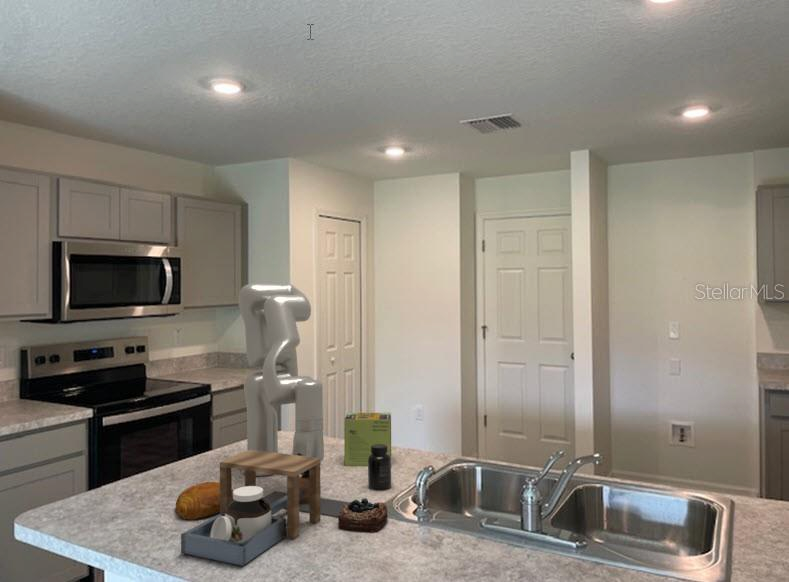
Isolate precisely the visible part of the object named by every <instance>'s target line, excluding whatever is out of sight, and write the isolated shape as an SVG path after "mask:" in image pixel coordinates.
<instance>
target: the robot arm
mask: <svg viewBox="0 0 789 582" xmlns="http://www.w3.org/2000/svg"><path fill="white" fill-rule="evenodd" d="M238 296H239V297H238V307H239V311H240V314H241V317H242V321H243V324H244V330H245V332H244V333H245V347H246V350H245V351H246V357H247V362H248V365H250V366H251V367H252V368H262V371H256V372H252V373H251V374H249V375H247V376H246V377H245V379H244V382H243V390H244V398H245V402H246V417H247V418H246V423H247V424H246V427H247V428H246V430H247V431H246V433H247V437H246V439H247V441H246V442H247V443H246V445H247V447H246V449H247V450H257V451H265V452H273V453H279V449H278V448H279V447H278V444H279V443H278V441H279V440H278V439H279V437H278V434H279V433H278V428H279V426H278V423H279V421H278V417H279V416H278V413H277V410H276V409H275V407H273V405H275V406H282V405H289V404H295V405H294V406H295V408H294V409H295V412H294V414H295V416H294V417H295V419H294V420H295V423H294V425H295V427H294V429H295V432H294V435H293V441H292V453H291V455H298V456H307V457H315V458H320V465H321V464H322V462H323V461H324V458H325V457H324V455H325V444H324V433H323V429H324V428H323V427H324V425H323V423H324V421H323V420H324V419H323V418H324V417H323V416H324V415H323V413H324V412H323V411H324V410H323V407H324V406H323V405H324V401H323V397H324V396H323V388H324V387H323V384H322V383H323V382H321V381H320V380H318V379H313V378H312V377H311V376H309V375H299V368H298V354H297V353H298V352H297V347H299V345H300V342H301V338H300V335H299V331H298V326H297V323H298V322H299V323H301V322H303V323H304V322H306V321H308V320H309V319H310V317H311V314H312V306H311V303H310V301H309V298H308V297H307V296H306V295H305V293H303V291H301V290H299V289H298V288H297V287H295V285H293V284H291V283H283V282H279V283H278V282H255V283H249V284H245V285H244V286H243V287H241V289H240V291H239V295H238ZM276 367H279V369H276ZM247 450H246V451H247ZM241 471H242V473H243V474H244V475H245V470H241ZM273 475H274V474H269V473H261V472H256V477H265V476H267V477H268V476H273ZM299 476H303V477H309V469H308V470H306V471H305V472H303V473H301V474H299Z"/></svg>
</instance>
